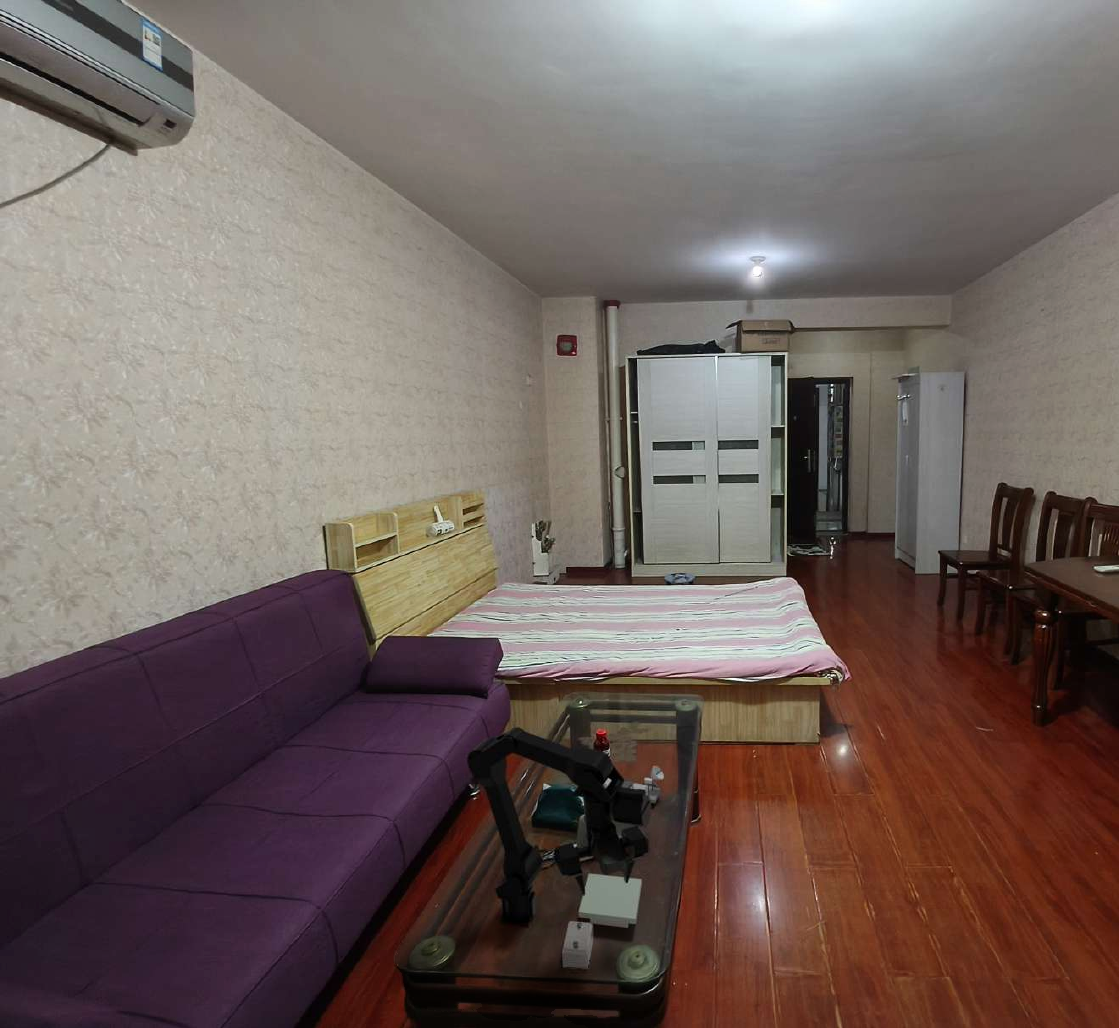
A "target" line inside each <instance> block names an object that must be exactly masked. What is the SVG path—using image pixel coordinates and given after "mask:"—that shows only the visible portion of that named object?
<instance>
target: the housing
mask: <svg viewBox="0 0 1119 1028" xmlns="http://www.w3.org/2000/svg"><path fill="white" fill-rule="evenodd" d="M563 943H564V944H563V948H562V952H561V955H562V958H561V959H562V967H563V968H566V967H588V965H589V966H590V962H589V960H590V961H591V954H592V948H593V944H594V924H593V923H590V922H583V921H574V920H573V921H571V920H570V921H569V922H568V924H567V929H566V933H565V939H564V942H563Z"/></svg>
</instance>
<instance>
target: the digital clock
mask: <svg viewBox="0 0 1119 1028" xmlns="http://www.w3.org/2000/svg"><path fill="white" fill-rule="evenodd" d="M584 816H585V815H584V814H582V815H580V817H579V819H578V823H577V833H576V841H575V842H576V847H577V848H578V849H581V848H585V847H587V841H586V839H585V835H586V826H585V822H584ZM614 824H615V826H616V831H617V835H618V837H622V836H621V830H622V829H626V828H630V827H633V826H634V825H629V824H624V823H618V822H617V821H614Z"/></svg>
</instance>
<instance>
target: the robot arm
mask: <svg viewBox="0 0 1119 1028" xmlns="http://www.w3.org/2000/svg"><path fill="white" fill-rule="evenodd" d="M511 754H514V755H516V756H519V757H522V758H525V759H526V760H530V761H531V762H535V763H538V764H540V765H543V766H545V767H548V768H550V769H553V770H556V771H557V772H560V773H562V774H564V775H566V777H567V778H568V779H569V780H570V781H571V782H572V783H573V784H574V785H576V787H575V789H574V790H573V791H572V796H574V797H580V798H582V802H583V812H584V814H583V815H585V816H584V822H585V826H586V835H585V839H586V841H587V847H585V848H581V849H579V848H578V849H576V847H575V845H574V844H573V842H569V843H565V844H561V845H557V846H555V849H554V850H553V857H554V858H553V859H554V861H555V863H556V866H557V868H558V870H559V871H560V874H561V875H563V876H567V877H573V878H574V879H575V880H576V883H577V885H578V888H579V890H580V891H581V894H582V897H583V896H584V895H585V883H584V878H583V877H584V876H583V870H582V863H581V862H582V861H585V860H589V859H593V858H596V860H597V863H598V865H599V868H600V871H601V873H602V875H607V876H611V874H615V873H618V872H622V875H623V876H622V877H624V881H625V883H628V881H629V878H631V874H632V871H633V867H634V865H635V863H636V861H637V860H638V859H640V858H643V857H644V855H645V854H647V853H649V852H650V850H651V848H650V846H651V845H650V841H649V838H648V836H647V835H646V834H645V833H644V831H643V829H642V828H647V827H648V826H649V823H650V819H651V814H652V803H651V801H650V800H649V797H648V795H646V791H645V790H644V789H631V788H625V787H622V785H623V783H624V782H625V781H626V779H625V778H624V777H623V776H622V775H621V773H620V772H619V770H618V769H617V768H616V767H615V765H614V764H613V761H612V760H611V758H610V755H609V754H607V752H605V751H602V750H598V749H593V748H571V747H568V746H567V745H566V746H565V745H563V744H559V743H558V742H555V741H552V740H549V739H547V738H544V737H541V736H538V735H536V734H532V733H530V732H529V731H528V732H527V731H525V730H524V729H523V728H521V727H519V726H517V727H512V728H511V729H509V731H506V732H504V733H501V734H500V735H498V736H497V737H496V736H495V737H493V736H492V737H490V736H489V737H487V738H485V739H483V741H481V742H480V743H479V744H477V746H476V747H475V748H473V749H472V750H471V751H469V753H468V754H467V757H466V763H467V767H468V769H469V771H470V774H471V775H472V778H473V779H474V780H475V782H477V784H479V785H480V786H482V787H483V788H484V791H485V792H484V793H485V794H486V798H487V801H488V804H489V807H490V811H491V814H492V817H493V820H494V823H495V826H496V828H497V829H496V830H497V831H498V835H499V838H500V840H501V843H502V846H503V847H502V848H503V853H504V854H503V862H502V863H503V864H502V870H503V875H504V876H503V878H502V880H501V881H500V882H499V883H498V885H497V886H496V887H495V888H494V890H495V894H496V896H497V898H498V899H500V900H501V909H502V914H501V917H500V919H499V922H500V923H502V924H509V925H518V926H523V927H524V926H525V927H529V926H530V924H531V920H532V918H534V916H535V913H536V910H537V902H536V892H534V891H533V889H534V888H533V884H534V882H535V881H536V880H537V878H538V877H539V875H540V874H541V872H542V870H543V863H544V861H545V860H544V859H543V857H542V855H541V852H540V848H539V845H537V844H535V845H532V844H531V843H530V842H529V841H527V839H526V837H525V834H524V831H523V828H522V825H521V820H520V819H519V815H518V813H517V810H516V807H515V803H514V800H513V798H512V793H511V791H510V787H509V785H508V781H507V777H506V775H507V767H508V760H507V757H508V756H510V755H511ZM608 778H609V779H610V780H611V782H610V783H609V785H608V786H607V788H604V786H603V785H604V784H605V782H606V781H607V779H608ZM614 821H617V822H618V823H624V824H629V825H634V826H633V827H630V828H626V829H622V830H621V836H622V837H618V835H617V831H616V826H615V824H614ZM641 827H642V828H641Z"/></svg>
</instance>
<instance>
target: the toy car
mask: <svg viewBox="0 0 1119 1028" xmlns="http://www.w3.org/2000/svg"><path fill="white" fill-rule="evenodd" d="M664 775H665V774H664V773H663V769H661V768H660V767H659V766H657V765H654V766H652V770H651V772H650V777H644V783H643V784H640V783H634V782H633V781H630V780H629V781H628V780H625V782H624V783H623V785H622V787H625V788H631V789H644V790H645V791H646V795H648V797H649V800H650V801H651V804H655V803H656V802H657V800H658V797H659V795H660V792H661V788H660V787H659V786H658V783H656V782H655V780H656V781H661V780H663V779H664V777H665V776H664ZM610 782H611V780H610V779H609V778H608V779H607V781H606V782H605V784H604V785H603V786H604V788H607V786H608V785H609V783H610Z"/></svg>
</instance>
